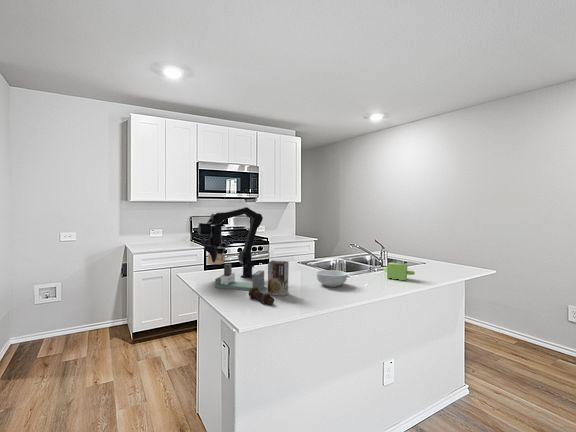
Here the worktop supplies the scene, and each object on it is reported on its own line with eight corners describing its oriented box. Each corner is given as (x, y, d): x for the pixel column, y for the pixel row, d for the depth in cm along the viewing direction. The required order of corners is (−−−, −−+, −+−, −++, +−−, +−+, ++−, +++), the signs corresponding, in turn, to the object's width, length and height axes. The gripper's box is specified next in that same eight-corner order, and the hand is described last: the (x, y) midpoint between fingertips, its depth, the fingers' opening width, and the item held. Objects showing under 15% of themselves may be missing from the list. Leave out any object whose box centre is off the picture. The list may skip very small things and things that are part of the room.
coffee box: (288, 292, 165) (289, 261, 164) (284, 296, 159) (284, 263, 158) (272, 291, 168) (272, 260, 167) (267, 294, 162) (267, 262, 161)
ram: (227, 280, 181) (227, 262, 181) (234, 280, 180) (234, 263, 180) (220, 284, 172) (220, 265, 172) (227, 284, 171) (227, 266, 171)
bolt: (270, 309, 145) (251, 300, 156) (278, 302, 147) (259, 293, 159) (265, 300, 142) (246, 291, 154) (273, 292, 145) (254, 284, 156)
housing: (212, 261, 192) (212, 253, 192) (224, 262, 191) (224, 254, 190) (207, 263, 186) (207, 255, 186) (220, 264, 185) (220, 255, 185)
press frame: (223, 282, 182) (223, 267, 182) (264, 286, 177) (264, 270, 176) (215, 287, 173) (215, 271, 172) (257, 291, 167) (258, 274, 167)
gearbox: (415, 279, 200) (416, 264, 200) (413, 282, 191) (414, 266, 191) (385, 275, 208) (386, 260, 208) (381, 278, 199) (382, 262, 199)
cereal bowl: (350, 283, 186) (350, 271, 185) (342, 290, 171) (342, 277, 170) (322, 280, 193) (322, 268, 192) (312, 286, 178) (312, 273, 177)
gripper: (211, 232, 199) (211, 257, 199) (195, 235, 181) (195, 263, 181) (228, 233, 196) (228, 258, 197) (213, 236, 178) (213, 264, 179)
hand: (216, 261), depth 188 cm, fingers closed on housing, 6 cm apart
